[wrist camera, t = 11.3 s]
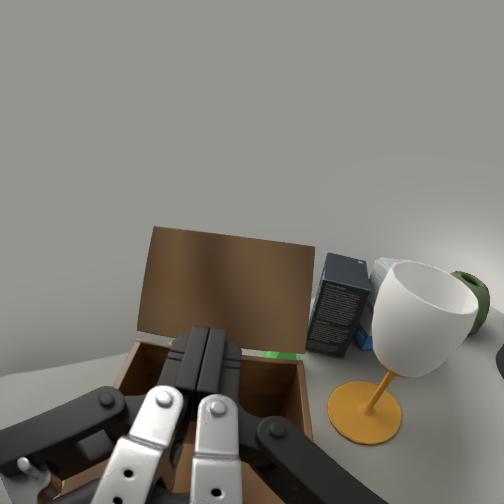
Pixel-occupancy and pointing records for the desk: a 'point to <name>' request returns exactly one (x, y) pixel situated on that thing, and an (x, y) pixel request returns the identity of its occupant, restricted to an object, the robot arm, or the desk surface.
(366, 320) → the ink box
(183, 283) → the flap
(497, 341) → the desk surface
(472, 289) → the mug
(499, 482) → the desk surface
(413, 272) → the cup
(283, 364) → the brown boxy piece
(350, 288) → the box
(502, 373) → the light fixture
